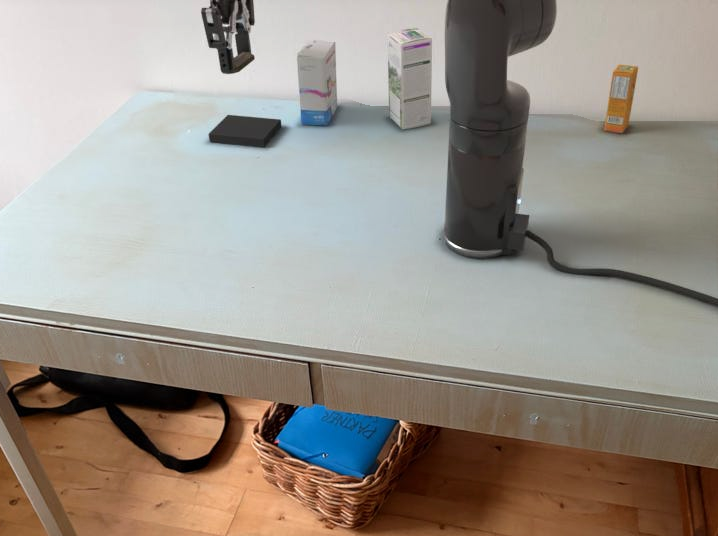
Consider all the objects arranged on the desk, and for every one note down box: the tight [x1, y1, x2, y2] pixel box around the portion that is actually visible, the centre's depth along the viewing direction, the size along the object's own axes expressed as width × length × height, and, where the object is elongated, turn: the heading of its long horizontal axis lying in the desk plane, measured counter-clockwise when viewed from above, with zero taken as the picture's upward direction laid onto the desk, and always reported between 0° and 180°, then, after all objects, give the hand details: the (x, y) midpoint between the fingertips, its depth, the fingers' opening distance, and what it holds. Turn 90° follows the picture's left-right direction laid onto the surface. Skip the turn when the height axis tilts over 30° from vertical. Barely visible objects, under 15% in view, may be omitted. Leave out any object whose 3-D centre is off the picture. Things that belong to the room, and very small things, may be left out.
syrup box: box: [387, 27, 433, 130], centre depth 125 cm, size 6×6×14 cm
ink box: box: [296, 39, 338, 127], centre depth 129 cm, size 9×5×12 cm, turn 168°
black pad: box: [208, 114, 283, 148], centre depth 127 cm, size 10×8×2 cm
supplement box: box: [603, 64, 639, 134], centre depth 121 cm, size 3×3×10 cm
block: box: [222, 52, 256, 75], centre depth 120 cm, size 4×6×2 cm, turn 154°
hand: (236, 64), depth 120 cm, fingers closed on block, 6 cm apart
